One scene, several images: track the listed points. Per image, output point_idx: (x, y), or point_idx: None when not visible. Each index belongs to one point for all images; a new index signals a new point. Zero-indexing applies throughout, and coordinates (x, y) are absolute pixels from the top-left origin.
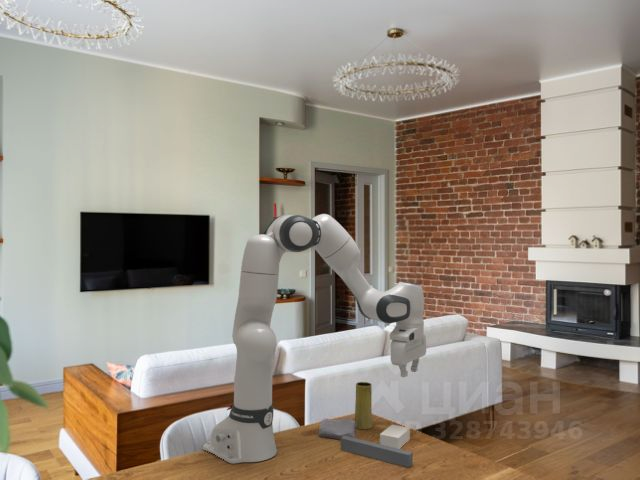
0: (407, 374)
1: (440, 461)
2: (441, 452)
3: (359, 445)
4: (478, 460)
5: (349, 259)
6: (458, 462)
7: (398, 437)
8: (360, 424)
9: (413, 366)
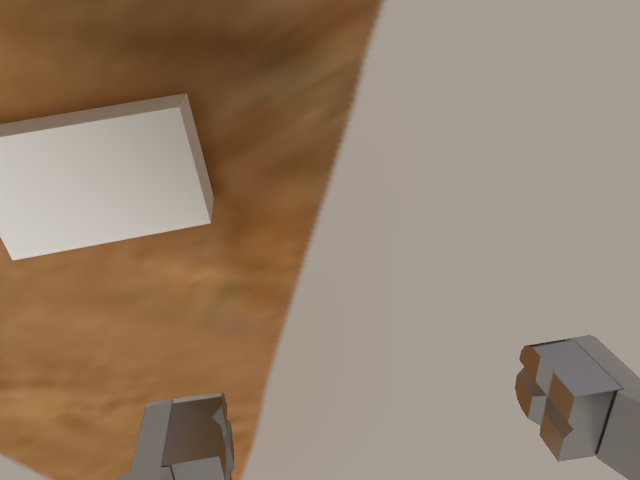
0: (231, 469)
1: (97, 399)
2: (183, 362)
3: None
4: None
5: None
6: None
7: (19, 256)
8: None
9: (578, 426)
